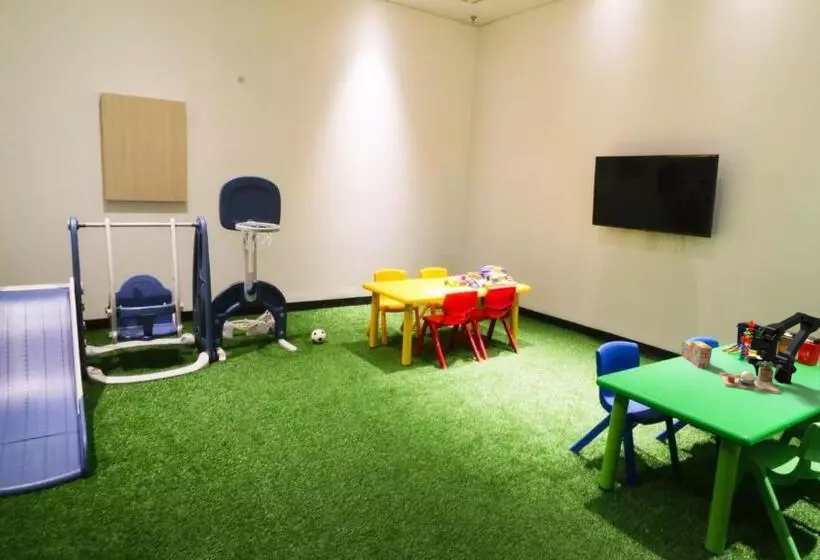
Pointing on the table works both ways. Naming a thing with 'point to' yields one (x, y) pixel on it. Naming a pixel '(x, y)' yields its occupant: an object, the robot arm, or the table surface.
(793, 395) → the table surface
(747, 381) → the dome
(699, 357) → the stack of blocks
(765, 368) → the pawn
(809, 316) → the robot arm
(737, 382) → the game board
